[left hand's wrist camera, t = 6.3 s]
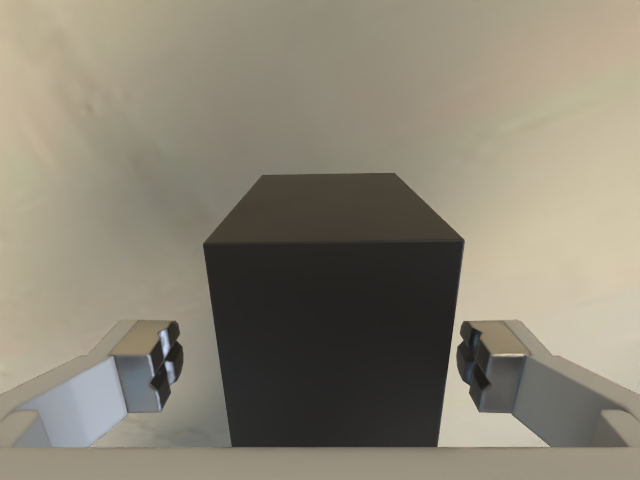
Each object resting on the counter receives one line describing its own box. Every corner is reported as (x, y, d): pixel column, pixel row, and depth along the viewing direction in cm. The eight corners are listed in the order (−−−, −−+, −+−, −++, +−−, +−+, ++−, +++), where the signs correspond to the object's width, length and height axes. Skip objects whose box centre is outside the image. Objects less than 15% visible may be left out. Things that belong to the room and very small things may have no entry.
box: (261, 174, 16) (202, 243, 8) (395, 172, 16) (465, 240, 8) (287, 513, 24) (269, 714, 16) (376, 513, 24) (402, 715, 16)
